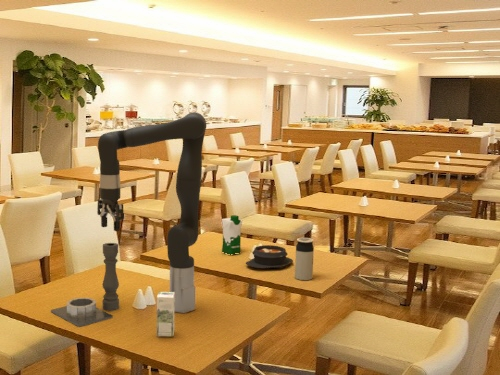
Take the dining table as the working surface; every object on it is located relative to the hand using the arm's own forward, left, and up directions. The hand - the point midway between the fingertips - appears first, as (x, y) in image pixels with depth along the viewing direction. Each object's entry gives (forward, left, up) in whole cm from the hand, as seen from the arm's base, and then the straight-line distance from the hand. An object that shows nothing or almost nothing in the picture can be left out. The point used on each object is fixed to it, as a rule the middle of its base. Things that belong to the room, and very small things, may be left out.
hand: (110, 228), depth 238 cm
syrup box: (-34, 0, -31) cm, 46 cm away
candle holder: (0, 0, -31) cm, 31 cm away
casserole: (+1, -90, -31) cm, 95 cm away
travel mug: (-23, -87, -31) cm, 95 cm away
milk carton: (+29, -91, -31) cm, 100 cm away
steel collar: (+1, +12, -31) cm, 33 cm away
